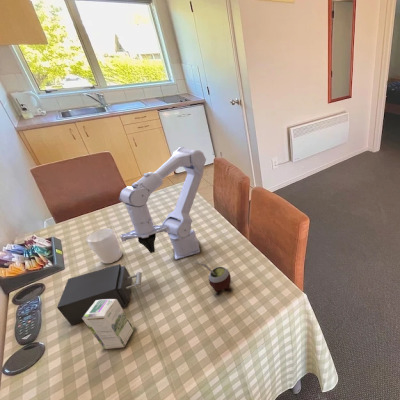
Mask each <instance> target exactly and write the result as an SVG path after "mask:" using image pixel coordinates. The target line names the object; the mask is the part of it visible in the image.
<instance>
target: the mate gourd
mask: <svg viewBox="0 0 400 400" xmlns="http://www.w3.org/2000/svg"><path fill="white" fill-rule="evenodd" d="M194 264H195V265H199V266H200V265H201V266H203V267H204V268H206V269H207V270H208V271H209V274H208V282H209V285H210V286H211V287H212V289H213V290H214V291H215V292H216V293H215V294H216V295H217V296H219V295H220V294H221V293H222V291H227V292H231V288H230V283H231V279H232V277H231V273H230V271H229V270H228V269H227V268H226V267H225V266H224V267H223V266H218V267H217V266H216V267H215V268H213V269H211V268H210V267H209V266H208V265H207V263H202V262H194Z"/></svg>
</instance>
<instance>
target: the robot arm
mask: <svg viewBox="0 0 400 400" xmlns="http://www.w3.org/2000/svg"><path fill="white" fill-rule="evenodd" d="M206 161H207V157H206V156H205V154H204V152H203V151H201V150H198V149H197V150H196V149H191V148H187V147H184V146H183V147H178V149H176V150H175V151H173V152H172V156H170V157H169V158H168V159H167V160H166V161H165V162H164V163H163V164H162V165H161V166H160V167H158V168H157V169H156V170H155V171H148V172H144V174H143V176H142V177H141V178H139V179H138V180H137V181H135V182H133V183H132V184H131V186H126V187H124V188H123V189H121V191H120V193H119V197H118V200H119V201H120V202H121V203H123V204H124V205H125V207H126V210H127V213H128V216H129V218H130V221H131V224H132V226H133V230H130V231H128V232H125V233H121V234H120V240H121V242H126V241H127V240H133V239H136V238H137V241H138V243H139V244H141V245H142V246H143V247H145V248H146V249H147V251H148V252H149V253H150V254H154V253H155V251H156V248H155V241H156V237H157V234H159V233H163V232H164V233H167V236H168V238H169V240H170V243H171V246H172V249H173V251H174V260H179V259H180V260H181V259H183V258H186V257H190V256H193V255H196V254H200V253H201V249H200V242H199V240H198V238H197V237H198V236H197V234H196V230H195V229H192V223H193V220H192V218H191V216H190V213H191V209H192V206H193V204H194V201H195V199H196V195H197V192H198V190H199V187H200V184H201V181H202V178H203V175H204V168H205V165H206ZM179 168H183V169H184V170H185V172H186V176H185V180H184V182H183V185H182V188H181V190H180V193H179V195H178V198H177V201H176V204H175V207H174V210H173V211H170V212H168V213H167V216H166V218H165V219H164V220H163V221H162V223H161V224H159V225H154V221H153V218H152V216H151V213H150V210H149V206H148V204H147V203H148V201H149V198H150V197H151V195H152V194H153V193H154V192H155V191H156V190H157V189H158V188H160V187H161V186H162V185H163V182H164V179H165V178H167V177H168V176H169V175H171V174H172V173H174V172H175V171H176V170H178V169H179Z"/></svg>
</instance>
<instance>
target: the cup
mask: <svg viewBox="0 0 400 400" xmlns="http://www.w3.org/2000/svg"><path fill="white" fill-rule="evenodd" d="M85 242H86V243H87V245H88V247H89V249H90V250H91V251H92V252H93V253H94V254H95V255H96V257H98V259H99V260H100V262H102V264H112V263H114V262H117V261H118V260H120V259H121V257H122V256H123V253H122V249H121V246H120V242H119V240H118V236H117V234H116V233H115V231H114V229H113V228H109V227H105V228H100V229H97V230H94V231H92V232H91V233H89V234H87V236H86V237H85Z"/></svg>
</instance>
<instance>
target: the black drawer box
mask: <svg viewBox="0 0 400 400" xmlns="http://www.w3.org/2000/svg"><path fill="white" fill-rule="evenodd" d="M121 267H122V265H121V263H119V264H115V265H111V266H108V267H105V268H101V269H97V270H94V271H90V272H87V273H83V274H80V275H76V276H74V277H71V278H68V279H67V281H66V284H65V287H64V288H63V290H62V294H61V296H60V298H59V301H58V304H57V306H56V308H57V309H58V311H59V312H60V314H61V315H62V316H63V317H64V318H65V320H66V321H67V322H68V323H69V324H70V326H74V325H77V324H79V323H82V322H84V320H83V319H82V317H83V316H84V315H85V314H86V312H87V311H88V310H89V308H90V307H91V306H92V305H93V303H94V302H95V301H96V300H102V299H117V301H118V302H119V304H120V306H121V308H122V309H123V308H126V306H127V303H125V302H124V301H123V299H122V297H121V296H120V294H119V292H118V291H117V283H118V278H119V275H120V269H121Z"/></svg>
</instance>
